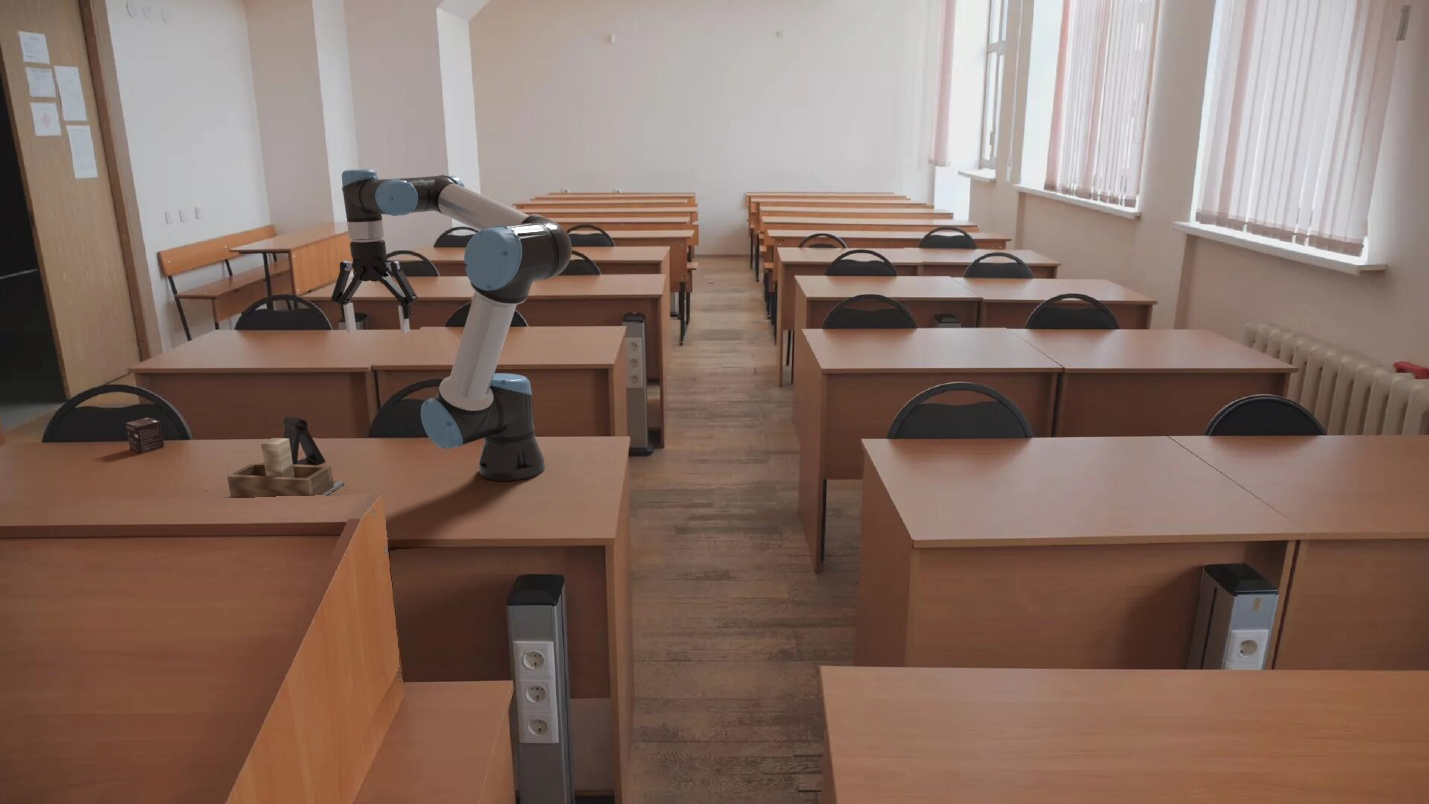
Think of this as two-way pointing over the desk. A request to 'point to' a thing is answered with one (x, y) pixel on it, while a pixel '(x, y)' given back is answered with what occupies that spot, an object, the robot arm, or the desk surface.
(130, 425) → the box
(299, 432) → the black phone stand
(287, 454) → the birch block
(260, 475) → the wooden tray
